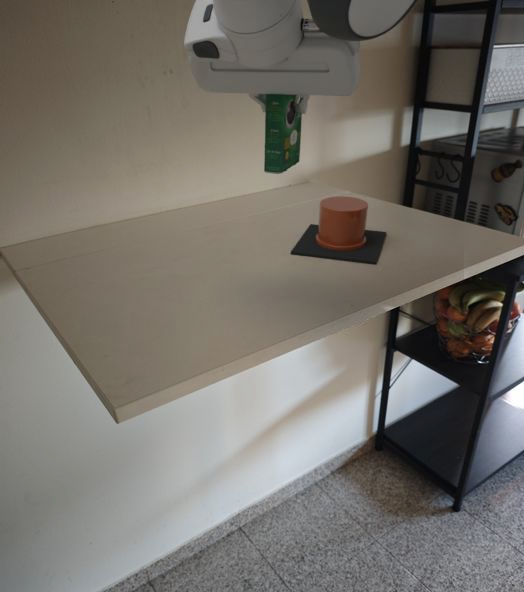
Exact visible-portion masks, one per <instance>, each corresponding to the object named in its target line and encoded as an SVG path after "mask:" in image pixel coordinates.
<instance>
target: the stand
mask: <svg viewBox="0 0 524 592" xmlns="http://www.w3.org/2000/svg"><path fill="white" fill-rule="evenodd" d="M368 209H369V204H368V201H366V200H364V199H361V198H358V197H354V196H353V197H352V196H331V197H325V198H323V199H321V200H320V203H319V213H318V225H319V228H318V234H317V235H316V243H317V244H318V245H320V246H321V247H324V248H327V249H331V250H338V251H350V250H356V249H359V248H362V247H363V246H364V245H365V244H366V237H365V230H366V228H367V219H368V212H369V211H368Z"/></svg>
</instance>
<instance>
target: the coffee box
mask: <svg viewBox="0 0 524 592" xmlns="http://www.w3.org/2000/svg"><path fill="white" fill-rule="evenodd" d="M294 97H295V95H287V94H266V109H265V112H264V113H265V115H264V162H263V163H264V165H263V166H264V167H263V172H264V173H266V174H275V175H280V174H283V173H284V172H288V170H289V169H291V168H292V167H293V166H296V165H297V164H298V163H299V162H300V156H301V155H300V154H301V139H302V138H301V137H302V119H303V117H302V115H303V114H298V113H294V109H293V101H294Z"/></svg>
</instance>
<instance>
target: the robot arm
mask: <svg viewBox="0 0 524 592" xmlns="http://www.w3.org/2000/svg"><path fill="white" fill-rule="evenodd" d="M306 1H307V5H308V9H309V13H310V16H311V18H304V13H303V8H302V7H303V6H302V1H301V0H195V1H194V4H193V7H192V9H191V11H190V15H189V18H188V21H187V26H186V29H185V30H186V31H185V34H184V40H183V48H184V51H185V52H186V54H187V55H188V64H189V68H190V71H191V73H192V76H193V78H194V81H195V82H196V85H197V86H198V87H199V88H200V89H201V90H203V91H204V92H206V93H208V94H209V93H210V94H211V93H216V94H217V93H218V94H248V97H249V98H251V100H253V101H254V102H256V103H257V104H258V105H260V108H261V110H262V113H265V109H266V94H287V95H295V97H294V101H293V109H294V113H298V114H302V115H306V113H307V110H308V101H309V100H310V98H311V96H327V97H329V96H331V97H349V96H350V97H351V96H352V95H353V93H355V92H356V91H357V88H358V85H359V83H360V82H359V81H360V77H361V68H362V67H361V66H362V65H361V58H360V53H359V52H360V51H359V50H360V48H361V42H364V41H369V40H373V39H376V38H379V37H381V36H383V35H385V34H386V33H388V32H390V31H392V30H393V29H394V28H395V27H396V26H398V25H399V24H400V23H401V22H402V21H404V19H405V18H406V17H407V16H408V14H410V13H411V11H412V10H413V9H414V7H416V5H417V4H418V3H419V1H420V0H306Z"/></svg>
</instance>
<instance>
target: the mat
mask: <svg viewBox="0 0 524 592" xmlns="http://www.w3.org/2000/svg"><path fill="white" fill-rule="evenodd" d="M318 228H319V224H315V223H310V224H309V226H308V227H307V229H306V230H305V231H304V233H303V234H302V235H301V237H300V238H299V240H298V241H297V242H296V244H295V245H294V246H293V247H292V249H291V251H290V255H294V256H303V257H311V258H318V259H319V258H320V259H329V260H336V261H344V262H353V263H361V264H370V265H377V263H378V260H379V258H380V254H381V251H382V248H383V245H384V242H385V239H386V235H387V231H381V230H371V229H365V237H366V244H365V245H364V246H363V247H362V248H359V249H356V250H350V251H338V250H331V249H327V248H324V247H321V246H320V245H318V244H317V243H316V235H317V234H318Z"/></svg>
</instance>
